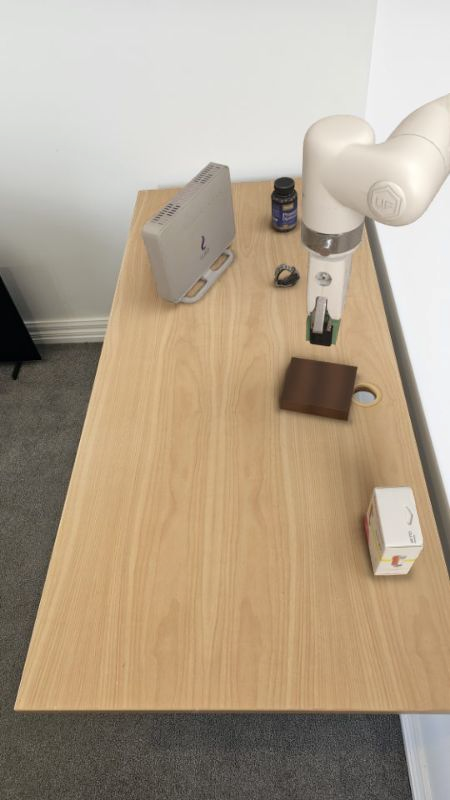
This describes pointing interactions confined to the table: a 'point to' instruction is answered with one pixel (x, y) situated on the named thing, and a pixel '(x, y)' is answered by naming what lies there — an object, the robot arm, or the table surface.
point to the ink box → (393, 530)
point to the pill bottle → (284, 204)
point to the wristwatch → (291, 279)
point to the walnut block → (318, 388)
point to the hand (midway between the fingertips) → (323, 330)
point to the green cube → (334, 322)
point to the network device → (192, 235)
